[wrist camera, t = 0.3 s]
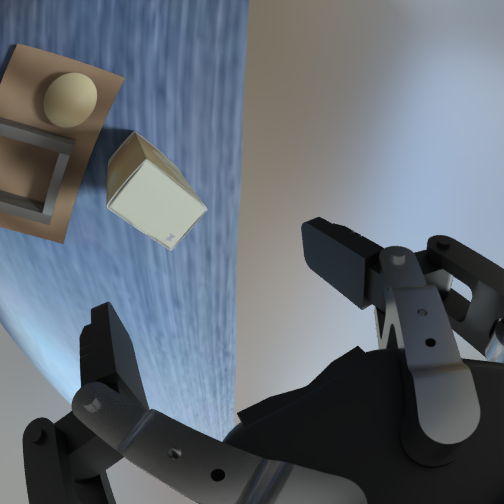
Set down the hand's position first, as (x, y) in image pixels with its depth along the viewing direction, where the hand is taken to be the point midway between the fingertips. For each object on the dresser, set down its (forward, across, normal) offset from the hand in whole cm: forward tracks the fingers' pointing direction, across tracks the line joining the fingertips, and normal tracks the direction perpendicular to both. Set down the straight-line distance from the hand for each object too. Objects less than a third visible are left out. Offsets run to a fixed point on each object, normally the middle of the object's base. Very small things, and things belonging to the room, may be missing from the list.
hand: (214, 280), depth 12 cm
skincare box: (+23, 0, -1) cm, 23 cm away
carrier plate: (+22, +10, -7) cm, 25 cm away
